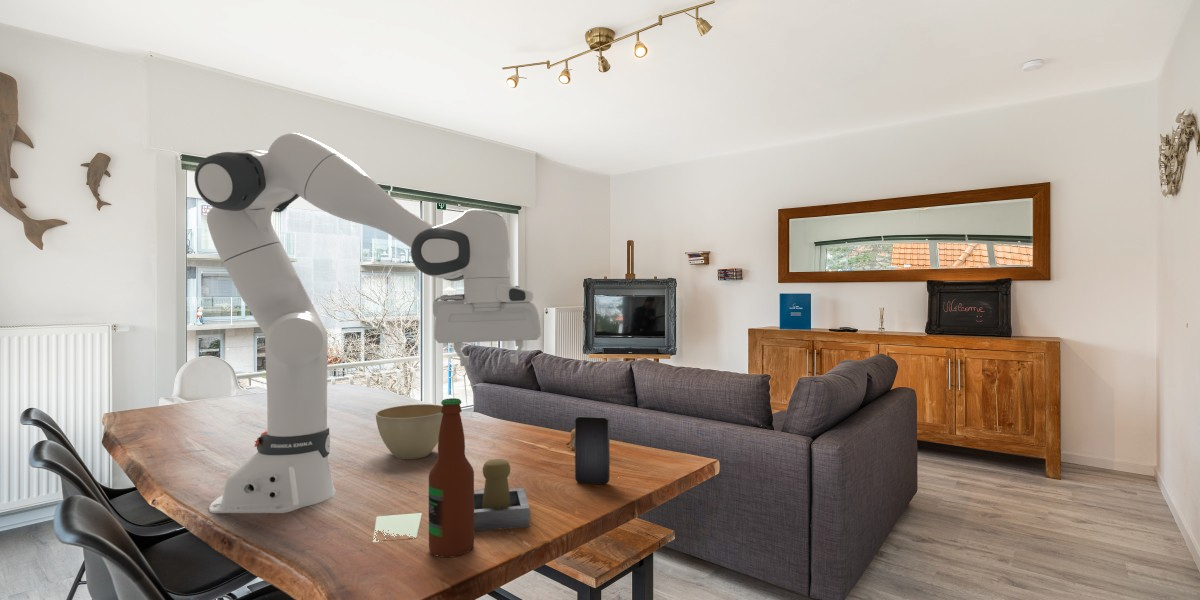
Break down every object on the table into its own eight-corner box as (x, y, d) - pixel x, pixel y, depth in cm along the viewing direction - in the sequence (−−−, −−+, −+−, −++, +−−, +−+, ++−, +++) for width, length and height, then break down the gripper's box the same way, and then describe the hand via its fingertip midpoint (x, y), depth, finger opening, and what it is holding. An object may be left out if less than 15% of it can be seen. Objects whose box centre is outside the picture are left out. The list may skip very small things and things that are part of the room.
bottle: (444, 538, 99) (444, 395, 99) (482, 543, 97) (481, 397, 97) (419, 556, 92) (419, 402, 92) (459, 562, 90) (459, 404, 90)
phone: (609, 483, 128) (609, 417, 128) (608, 485, 127) (608, 418, 127) (575, 481, 130) (575, 415, 130) (574, 482, 129) (574, 416, 129)
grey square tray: (465, 532, 101) (465, 513, 101) (466, 509, 112) (466, 492, 112) (529, 527, 104) (529, 507, 104) (524, 505, 115) (523, 487, 115)
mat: (341, 547, 95) (341, 545, 95) (355, 520, 107) (355, 518, 107) (416, 540, 98) (416, 538, 98) (422, 514, 110) (422, 512, 110)
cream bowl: (386, 448, 159) (386, 405, 159) (452, 446, 161) (451, 403, 161) (367, 467, 141) (366, 418, 141) (441, 464, 143) (441, 416, 143)
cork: (505, 525, 104) (505, 465, 104) (475, 523, 105) (475, 464, 105) (517, 513, 110) (517, 456, 110) (488, 511, 111) (487, 455, 111)
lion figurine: (600, 452, 154) (600, 426, 154) (589, 456, 151) (589, 428, 151) (571, 444, 162) (571, 419, 162) (560, 447, 159) (560, 421, 159)
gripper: (429, 295, 106) (431, 369, 106) (539, 292, 107) (541, 364, 107) (435, 295, 112) (438, 365, 112) (540, 292, 114) (541, 361, 114)
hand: (489, 364), depth 110 cm, fingers open, 8 cm apart
